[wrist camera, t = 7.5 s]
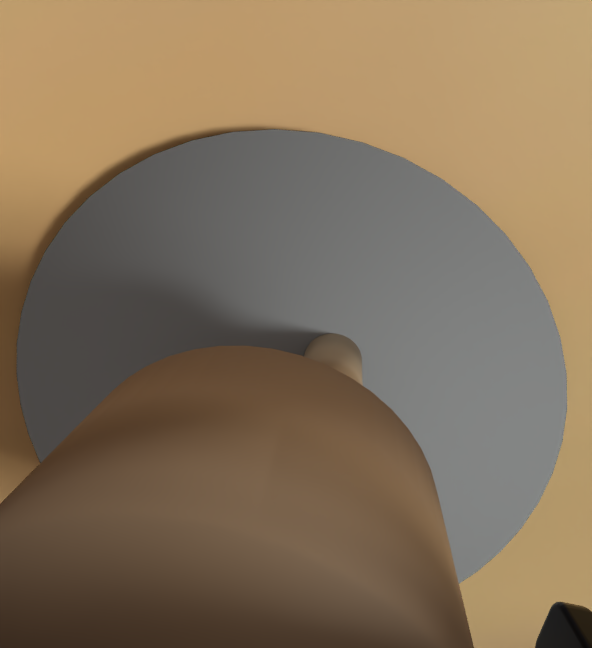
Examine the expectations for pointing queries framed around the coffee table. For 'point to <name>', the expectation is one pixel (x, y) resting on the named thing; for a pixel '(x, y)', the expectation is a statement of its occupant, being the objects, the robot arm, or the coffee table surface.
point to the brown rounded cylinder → (233, 515)
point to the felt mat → (312, 305)
